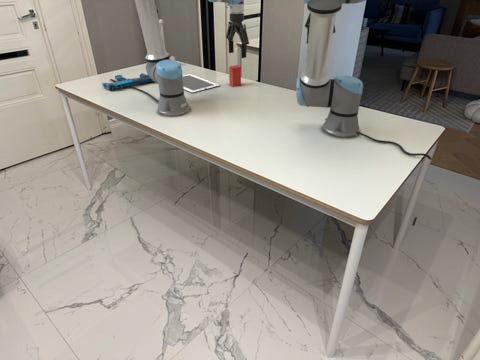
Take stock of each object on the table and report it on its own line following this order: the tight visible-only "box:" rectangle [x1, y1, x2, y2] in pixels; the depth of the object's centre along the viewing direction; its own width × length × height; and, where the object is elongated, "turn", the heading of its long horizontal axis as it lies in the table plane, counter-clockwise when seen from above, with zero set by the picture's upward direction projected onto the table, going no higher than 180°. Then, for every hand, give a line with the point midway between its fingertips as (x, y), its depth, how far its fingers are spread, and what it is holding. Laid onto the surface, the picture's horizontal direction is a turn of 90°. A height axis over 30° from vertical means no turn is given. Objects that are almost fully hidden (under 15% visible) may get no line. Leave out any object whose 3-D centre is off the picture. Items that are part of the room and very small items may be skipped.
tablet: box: [182, 73, 221, 94], centre depth 207 cm, size 32×20×1 cm, turn 41°
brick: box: [228, 64, 242, 87], centre depth 202 cm, size 5×5×11 cm
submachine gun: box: [101, 73, 155, 91], centre depth 209 cm, size 34×4×25 cm
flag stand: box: [159, 18, 176, 61], centre depth 234 cm, size 13×13×30 cm
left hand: (237, 55), depth 188 cm, fingers open, 13 cm apart
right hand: (317, 45), depth 167 cm, fingers open, 13 cm apart
